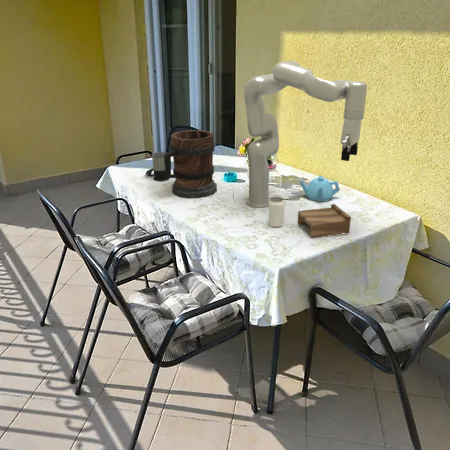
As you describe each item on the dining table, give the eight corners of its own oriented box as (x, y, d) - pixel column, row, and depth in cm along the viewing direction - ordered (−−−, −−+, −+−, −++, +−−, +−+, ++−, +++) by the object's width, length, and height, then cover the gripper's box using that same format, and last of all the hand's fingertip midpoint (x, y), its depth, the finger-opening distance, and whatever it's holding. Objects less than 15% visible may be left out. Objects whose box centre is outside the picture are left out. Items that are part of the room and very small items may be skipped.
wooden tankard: (225, 190, 230) (225, 134, 217) (183, 205, 211) (179, 145, 199) (196, 180, 245) (194, 127, 233) (154, 193, 227) (149, 137, 214)
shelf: (297, 223, 190) (298, 207, 187) (332, 219, 193) (334, 204, 190) (311, 238, 176) (312, 221, 173) (349, 233, 180) (350, 217, 177)
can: (273, 220, 193) (274, 195, 188) (286, 223, 189) (287, 198, 184) (265, 225, 189) (266, 199, 184) (278, 228, 185) (279, 203, 180)
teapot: (318, 205, 209) (320, 184, 204) (297, 196, 220) (298, 176, 216) (340, 198, 216) (342, 178, 212) (319, 190, 228) (320, 170, 223)
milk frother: (166, 182, 243) (165, 156, 237) (140, 181, 246) (137, 155, 240) (173, 174, 256) (172, 149, 250) (148, 173, 259) (146, 149, 252)
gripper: (351, 110, 176) (346, 151, 183) (336, 117, 163) (332, 161, 170) (369, 112, 172) (364, 153, 180) (356, 119, 159) (351, 164, 166)
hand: (349, 157), depth 175 cm, fingers open, 9 cm apart
